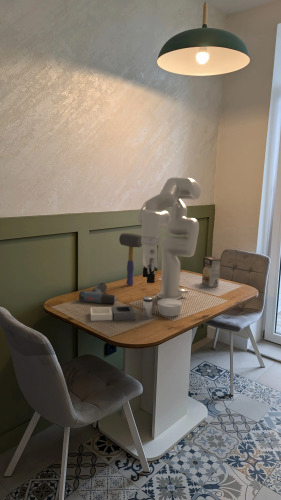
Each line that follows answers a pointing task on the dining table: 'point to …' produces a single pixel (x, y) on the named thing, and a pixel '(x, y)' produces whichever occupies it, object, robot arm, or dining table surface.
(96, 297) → the power drill
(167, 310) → the ramekin
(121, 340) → the dining table surface
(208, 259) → the coffee box
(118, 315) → the block
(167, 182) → the robot arm
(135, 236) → the rubber mallet
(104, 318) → the tray
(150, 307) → the shiny metal canister
